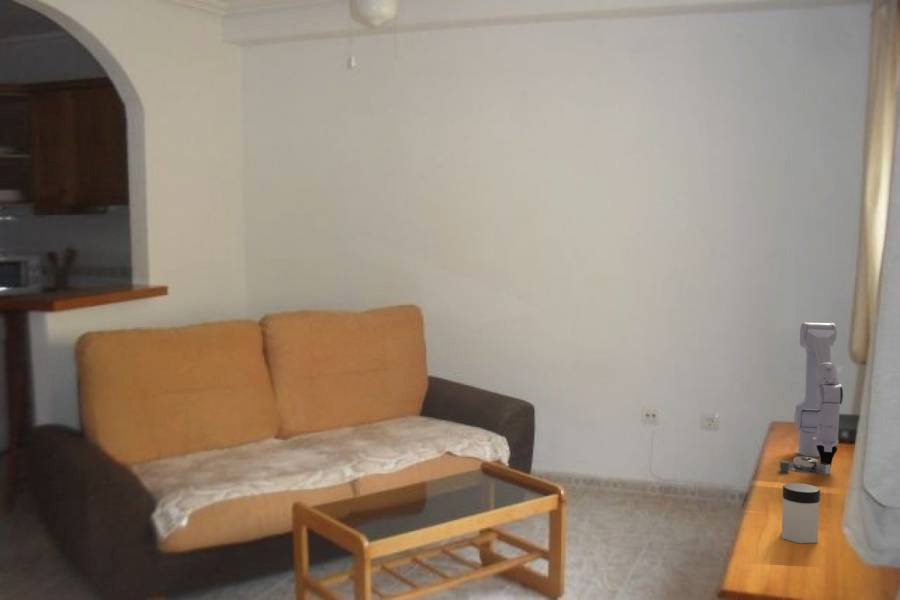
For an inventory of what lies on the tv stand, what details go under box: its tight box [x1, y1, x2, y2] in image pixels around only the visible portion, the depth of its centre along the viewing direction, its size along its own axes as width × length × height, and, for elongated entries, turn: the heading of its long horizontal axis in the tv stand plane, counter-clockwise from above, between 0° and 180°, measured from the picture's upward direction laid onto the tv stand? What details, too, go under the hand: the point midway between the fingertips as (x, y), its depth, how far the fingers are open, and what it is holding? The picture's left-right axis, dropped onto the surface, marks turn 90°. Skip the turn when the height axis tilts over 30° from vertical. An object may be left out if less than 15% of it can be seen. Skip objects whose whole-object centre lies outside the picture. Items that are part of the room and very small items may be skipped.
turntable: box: [788, 461, 831, 475], centre depth 273 cm, size 13×14×4 cm
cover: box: [793, 455, 820, 471], centre depth 274 cm, size 7×7×3 cm
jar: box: [781, 482, 821, 544], centre depth 214 cm, size 9×8×12 cm
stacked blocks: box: [779, 460, 790, 475], centre depth 269 cm, size 3×2×4 cm
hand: (825, 470), depth 270 cm, fingers closed, pressing on turntable
